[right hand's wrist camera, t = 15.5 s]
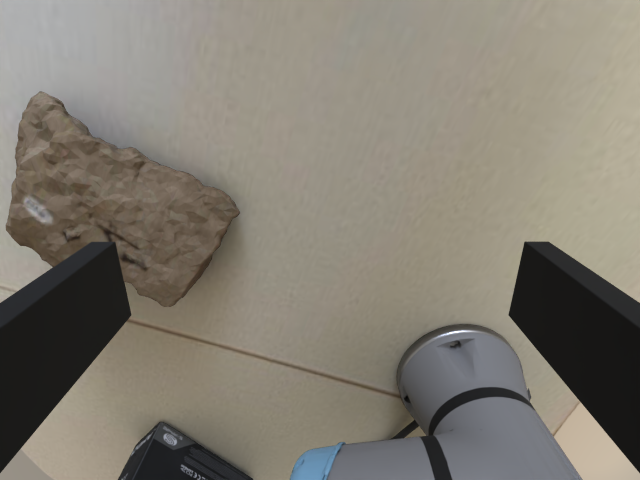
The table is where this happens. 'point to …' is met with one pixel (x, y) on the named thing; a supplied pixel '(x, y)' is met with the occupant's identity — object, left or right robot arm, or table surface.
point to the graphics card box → (175, 459)
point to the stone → (111, 204)
